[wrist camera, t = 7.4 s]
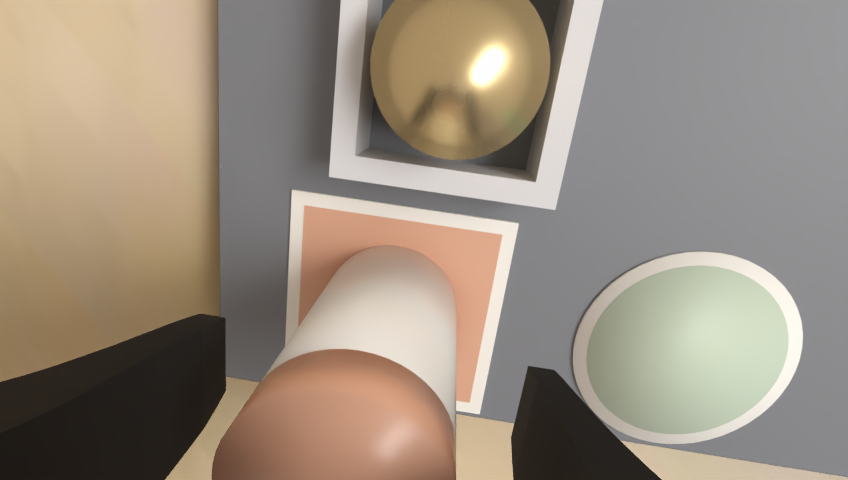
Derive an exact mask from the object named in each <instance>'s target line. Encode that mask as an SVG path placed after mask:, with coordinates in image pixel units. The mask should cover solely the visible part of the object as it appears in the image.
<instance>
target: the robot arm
mask: <svg viewBox="0 0 848 480" xmlns="http://www.w3.org/2000/svg"><path fill="white" fill-rule="evenodd" d="M225 391H226V318H224V317H217V316H211V315H205V314H198V315H195V316H191V317H188V318H185V319H182V320H179V321H177V322H174V323H171V324H168V325H166V326H163V327H160V328H158V329H155V330H153V331H150V332H147V333H145V334H142V335H140V336H137V337H134V338H132V339H129V340H127V341H124V342H121V343H119V344H116V345H113V346H111V347H108V348H105V349H102V350H99V351H97V352H94V353H91V354H88V355H85V356H82V357H79V358H77V359H74V360H71V361H68V362H65V363H62V364H59V365H56V366H53V367H50V368H47V369H44V370H41V371H37V372H34V373H31V374H27V375H24V376H21V377H17V378H13V379H10V380H6V381H3V382H0V480H165V479H166V477H167V476H168V475H169V473H170V472H171V471H172V470H173V468H174V467H175V466H176V464H177V463H178V462H179V461H180V459H181V458H182V457H183V455H184V454H185V453H186V451H187V450H188V449H189V448H190V446H191V445H192V444H193V442H194V441H195V440H196V438H197V437H198V436H199V434H200V433H201V432H202V430H203V429H204V427H205V426H206V424H207V422H208V421H209V419H210V417H211V416H212V414H213V412H214V411H215V409H216V407H217V405H218V404H219V402H220V400H221V398H222V396H223V395H224V393H225ZM511 444H512V464H513V478H514V480H661V479H660V478H659V477H658V476H657V475H656V474H655V473H654V472H652V471H651V470H650V469H649V468H648V467H647V466H646V465H645V464H644V463H643V462H642V461H641V460H640V459H639V458H638V457H636V456H635V455H634V454H633V453H632V452H631V451H630V450H629V449H628V448H627V447H626V446H625V445H624V444H623V443H622V442H621V441H620V440H619V439H618V438H617V437H616V436H615V435H614V434H613V433H612V432H611V431H610V430H609V429H608V428H607V427H606V426H605V425H604V423H603V422H602V421H601V420H600V419H599V418H598V417H597V416H596V415H595V414H594V413H593V412H592V410H591V409H590V408H589V407H588V406H587V405H586V404H585V403H584V402H583V401H582V399H581V398H580V397H579V396H578V395H577V394H576V393H575V392H574V390H573V389H572V388H571V387H570V386H569V385H568V384H567V383H566V382H565V380H564V379H563V378H562V377H561V376H560V375H559V374H558V373H557V372H556V371H555V370H552V369H546V368H539V367H533V366H528V368H527V373H526V377H525V381H524V385H523V389H522V394H521V398H520V402H519V406H518V411H517V415H516V419H515V423H514V428H513V432H512V436H511Z"/></svg>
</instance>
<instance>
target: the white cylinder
mask: <svg viewBox="0 0 848 480" xmlns="http://www.w3.org/2000/svg"><path fill="white" fill-rule="evenodd" d="M212 480H456V298H455V293H454V290H453V287H452V285H451V283H450V281H449V279H448V277H447V276H446V274H445V273H444V272H443V270H442V269H441V268H440V267H439V266H438V265H437V264H436V263H435V262H434V261H432V260H431V259H430V258H428V257H427V256H425V255H423V254H421V253H420V252H418V251H415V250H412V249H410V248H406V247H401V246H393V245H383V246H376V247H371V248H368V249H365V250H362V251H360V252H358V253H356V254H355V255H353V256H351V257H350V258H349V259H348V260H346V261H345V262H344V263H343V264H342V265H341V266H340V267H339V269H338V270H337V272H336V273H335V274H334V276H333V277H332V279H331V280H330V282H329V283H328V285H327V286H326V288H325V289H324V290H323V292H322V293H321V295H320V296H319V298H318V299H317V301H316V302H315V304H314V305H313V306H312V308H311V309H310V311H309V312H308V314H307V315H306V317H305V318H304V320H303V321H302V322H301V324H300V325H299V327H298V328H297V330H296V331H295V333H294V334H293V336H292V337H291V338H290V340H289V341H288V343H287V344H286V346H285V347H284V349H283V350H282V352H281V353H280V354H279V356H278V357H277V359H276V360H275V362H274V363H273V365H272V366H271V368H270V369H269V370H268V372H267V373H266V375H265V376H264V378H263V379H262V381H261V382H260V384H259V385H258V386H257V388H256V389H255V391H254V392H253V394H252V395H251V397H250V398H249V400H248V401H247V402H246V404H245V405H244V407H243V408H242V410H241V411H240V413H239V414H238V416H237V417H236V418H235V420H234V421H233V423H232V424H231V426H230V427H229V429H228V430H227V432H226V433H225V435H224V436H223V438H222V439H221V441H220V443H219V445H218V448H217V450H216V453H215V457H214V461H213V467H212Z"/></svg>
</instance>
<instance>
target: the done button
mask: <svg viewBox="0 0 848 480" xmlns="http://www.w3.org/2000/svg"><path fill="white" fill-rule="evenodd" d="M370 73H371V83H372V88H373V92H374V96H375V99H376V102H377V104H378V107H379V109H380V111H381V113H382V115H383V117H384V118H385V120H386V121H387V123H388V124H389V126H390V127H391V128H392V129H393V130H394V131H395V133H396V134H397V135H398V136H399V137H401V138H402V139H403V140H404V141H405V142H406V143H408V144H409V145H411V146H412V147H414V148H415V149H417V150H419V151H421V152H423V153H425V154H428V155H431V156H434V157H438V158H442V159H449V160H467V159H473V158H478V157H482V156H485V155H488V154H491V153H493V152H495V151H497V150H499V149H501V148H502V147H504V146H506V145H507V144H509V143H510V142H511V141H513V140H514V139H515V138H516V137H517V136H519V135H520V134H521V132H522V131H523V130H524V129H525V128H526V127H527V126H528V125H529V123H530V122H531V121H532V119H533V118H534V116H535V115H536V113H537V111H538V109H539V107H540V105H541V103H542V100H543V98H544V96H545V93H546V89H547V85H548V81H549V74H550V50H549V42H548V38H547V34H546V31H545V28H544V25H543V23H542V20H541V18H540V16H539V15H538V13H537V11H536V9H535V8H534V6H533V5H532V4H531V2H530V1H529V0H395V1H394V2H393V3H392V4H391V6H390V7H389V8H388V10H387V11H386V13H385V15H384V17H383V18H382V20H381V22H380V24H379V27H378V29H377V31H376V34H375V38H374V41H373V45H372V51H371V59H370Z"/></svg>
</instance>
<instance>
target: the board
mask: <svg viewBox="0 0 848 480" xmlns="http://www.w3.org/2000/svg"><path fill="white" fill-rule="evenodd" d="M394 1H395V0H218V63H219V200H220V317H224V318H226V377H232V378H238V379H244V380H250V381H257V382H261V381H262V379H263V378H264V376H265V375H266V373H267V372H268V370H269V369H270V368H271V366H272V365H273V363H274V362H275V360H276V359H277V357H278V356H279V354H280V353H281V352H282V350H283V349H284V347H285V346H286V344H287V343H288V341H289V340H290V338H291V337H292V336H293V334H294V333H295V331H296V330H297V328H298V327H299V325H300V324H301V322H302V321H303V320H304V318H305V317H306V315H307V314H308V312H309V311H310V309H311V308H312V306H313V305H314V304H315V302H316V301H317V299H318V298H319V296H320V295H321V293H322V292H323V290H324V289H325V288H326V286H327V285H328V283H329V282H330V280H331V279H332V277H333V276H334V274H335V273H336V272H337V270H338V269H339V267H340V266H341V265H342V264H343V263H344V262H345V261H346V260H348V259H349V258H350V257H351V256H353V255H355V254H356V253H358V252H360V251H362V250H365V249H368V248H371V247H376V246H383V245H393V246H401V247H406V248H410V249H412V250H415V251H418V252H420V253H421V254H423V255H425V256H427V257H428V258H430V259H431V260H432V261H434V262H435V263H436V264H437V265H438V266H439V267H440V268H441V269H442V270H443V272H444V273H445V274H446V276H447V277H448V279H449V281H450V283H451V285H452V287H453V290H454V293H455V298H456V414H461V415H467V416H473V417H479V418H485V419H492V420H498V421H504V422H510V423H515V419H516V415H517V411H518V406H519V402H520V398H521V394H522V389H523V385H524V381H525V377H526V373H527V368H528V366H533V367H539V368H546V369H552V370H555V371H556V372H557V373H558V374H559V375H560V376H561V377H562V378H563V379H564V380H565V382H566V383H567V384H568V385H569V386H570V387H571V388H572V389H573V390H574V392H575V393H576V394H577V395H578V396H579V397H580V398H581V399H582V401H583V402H584V403H585V404H586V405H587V406H588V407H589V408H590V409H591V410H592V412H593V413H594V414H595V415H596V416H597V417H598V418H599V419H600V420H601V421H602V422H603V423H604V425H605V426H606V427H607V428H608V429H609V430H610V431H611V432H612V433H613V434H614V435H615V436H616V437H617V438H618V439H619V440H621V441H627V442H634V443H640V444H646V445H652V446H658V447H665V448H671V449H677V450H683V451H689V452H695V453H702V454H708V455H714V456H720V457H726V458H733V459H739V460H745V461H751V462H757V463H763V464H770V465H776V466H782V467H788V468H794V469H801V470H807V471H813V472H819V473H825V474H831V475H838V476H844V477H848V0H529V1H530V2H531V4H532V5H533V6H534V8H535V9H536V11H537V13H538V15H539V16H540V18H541V20H542V23H543V25H544V28H545V31H546V34H547V38H548V42H549V50H550V74H549V81H548V85H547V89H546V93H545V96H544V98H543V100H542V103H541V105H540V107H539V109H538V111H537V113H536V115H535V116H534V118H533V119H532V121H531V122H530V123H529V125H528V126H527V127H526V128H525V129H524V130H523V131H522V132H521V134H520V135H519V136H517V137H516V138H515V139H514V140H513V141H511V142H510V143H509V144H507V145H506V146H504V147H502V148H501V149H499V150H497V151H495V152H493V153H491V154H488V155H485V156H482V157H478V158H473V159H467V160H449V159H442V158H438V157H434V156H431V155H428V154H425V153H423V152H421V151H419V150H417V149H415V148H414V147H412V146H411V145H409V144H408V143H406V142H405V141H404V140H403V139H402V138H401V137H399V136H398V135H397V134H396V133H395V131H394V130H393V129H392V128H391V127H390V126H389V124H388V123H387V121H386V120H385V118H384V117H383V115H382V113H381V111H380V109H379V107H378V104H377V102H376V99H375V96H374V92H373V88H372V83H371V73H370V59H371V51H372V45H373V41H374V38H375V34H376V31H377V29H378V27H379V24H380V22H381V20H382V18H383V17H384V15H385V13H386V11H387V10H388V8H389V7H390V6H391V4H392V3H393V2H394Z"/></svg>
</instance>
